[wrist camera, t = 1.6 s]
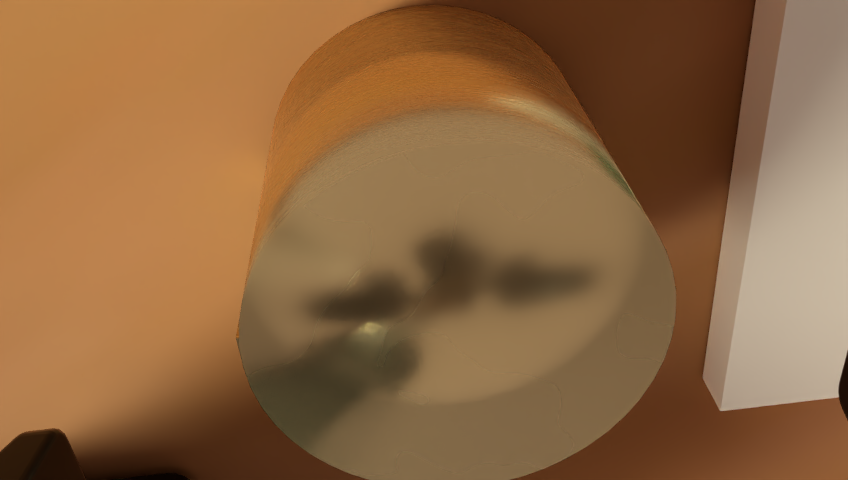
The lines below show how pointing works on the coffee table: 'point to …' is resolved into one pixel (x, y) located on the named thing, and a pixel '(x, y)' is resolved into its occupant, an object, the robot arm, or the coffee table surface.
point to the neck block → (786, 216)
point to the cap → (447, 258)
